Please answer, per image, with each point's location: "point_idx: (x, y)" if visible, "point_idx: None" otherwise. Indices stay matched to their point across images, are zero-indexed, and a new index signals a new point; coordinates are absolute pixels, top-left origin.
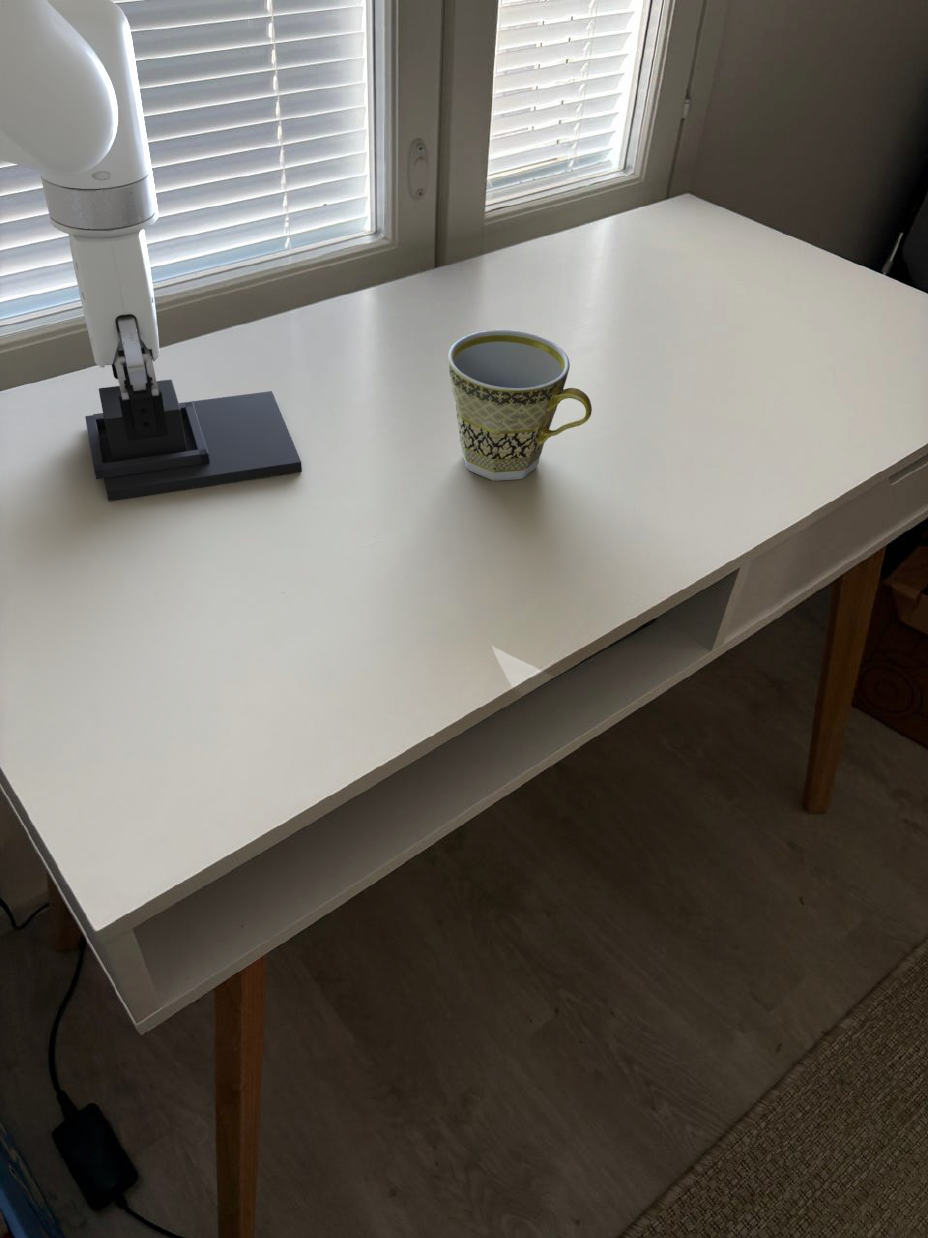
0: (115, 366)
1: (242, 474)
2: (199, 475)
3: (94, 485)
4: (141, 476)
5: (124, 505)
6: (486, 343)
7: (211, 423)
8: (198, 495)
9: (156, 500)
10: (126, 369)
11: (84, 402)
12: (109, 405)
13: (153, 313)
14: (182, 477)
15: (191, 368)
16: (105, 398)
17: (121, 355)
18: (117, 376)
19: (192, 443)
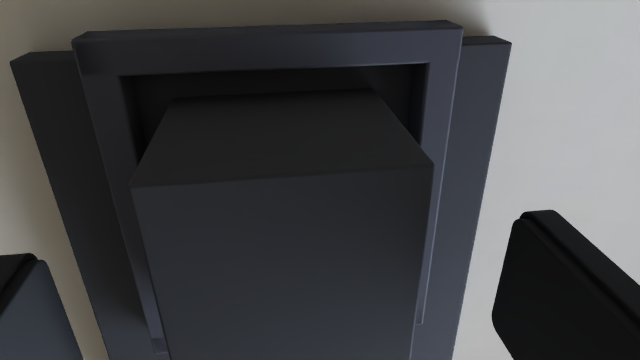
0: (547, 259)
1: None
2: (102, 308)
3: (131, 11)
4: (101, 173)
5: (9, 99)
6: None
7: None
8: (65, 279)
9: (39, 186)
10: (528, 279)
11: (630, 8)
12: (258, 208)
13: None
14: (91, 273)
15: (634, 280)
16: (326, 193)
17: (573, 325)
18: (521, 228)
19: None
